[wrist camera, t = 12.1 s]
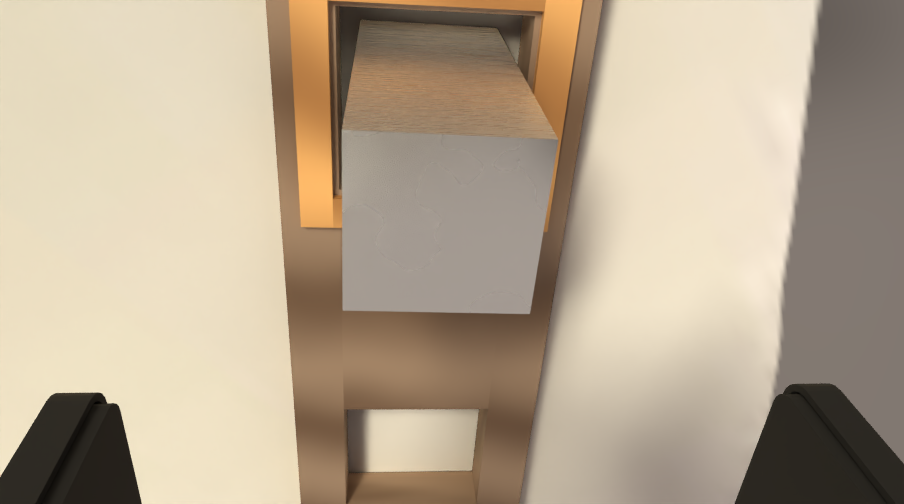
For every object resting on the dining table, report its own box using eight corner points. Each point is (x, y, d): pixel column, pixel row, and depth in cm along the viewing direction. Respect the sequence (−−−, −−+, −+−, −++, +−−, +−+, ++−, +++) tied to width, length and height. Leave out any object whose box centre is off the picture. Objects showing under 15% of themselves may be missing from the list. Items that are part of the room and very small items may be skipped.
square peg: (483, 153, 25) (529, 314, 17) (359, 148, 25) (342, 310, 16) (496, 28, 23) (558, 139, 15) (360, 19, 23) (341, 129, 14)
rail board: (502, 536, 37) (508, 576, 35) (310, 541, 36) (305, 582, 34) (611, -172, 20) (635, -173, 18) (263, -199, 19) (249, -203, 17)
